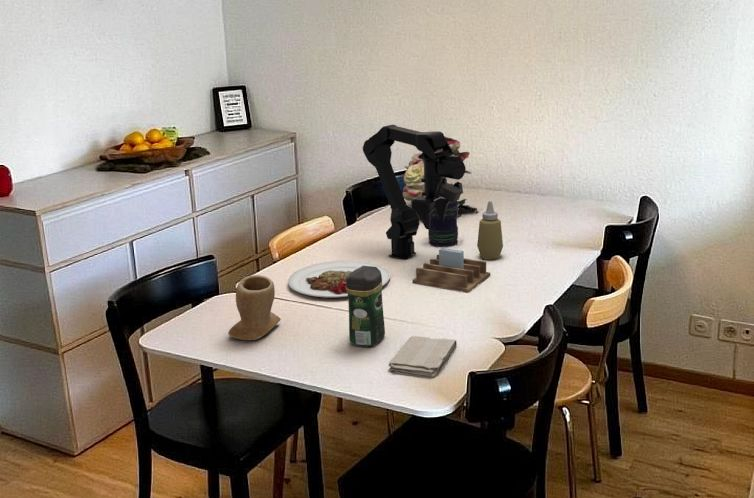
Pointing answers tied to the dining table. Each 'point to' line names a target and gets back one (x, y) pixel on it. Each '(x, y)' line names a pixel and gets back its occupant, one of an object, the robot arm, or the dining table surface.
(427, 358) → the washcloth
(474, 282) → the dish rack
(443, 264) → the plate tile
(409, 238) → the robot arm
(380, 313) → the coffee jar
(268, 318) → the stone cup
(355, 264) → the plated food
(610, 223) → the dining table surface
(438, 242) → the storage jar
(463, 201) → the rose bouquet
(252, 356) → the dining table surface
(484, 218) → the squeeze bottle
